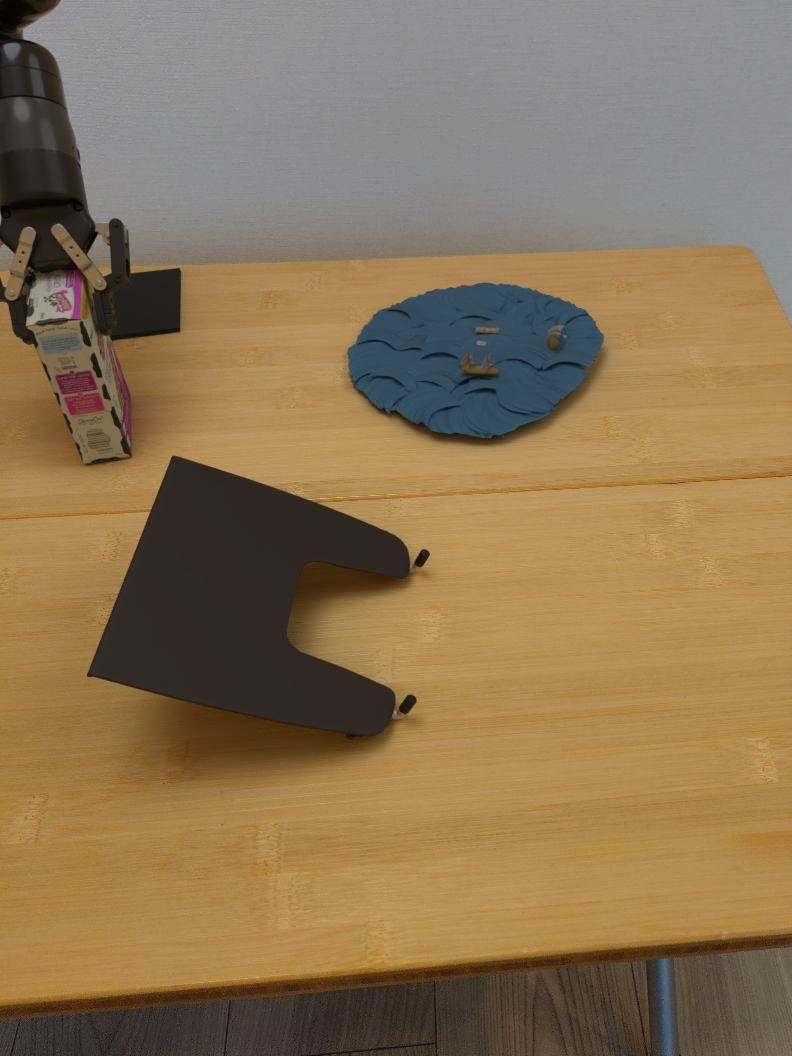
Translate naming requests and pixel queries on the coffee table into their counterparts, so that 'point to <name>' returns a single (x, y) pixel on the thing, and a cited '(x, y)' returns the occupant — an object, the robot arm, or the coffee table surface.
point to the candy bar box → (80, 364)
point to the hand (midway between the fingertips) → (68, 337)
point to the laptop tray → (242, 603)
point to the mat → (148, 304)
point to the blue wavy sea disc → (474, 357)
